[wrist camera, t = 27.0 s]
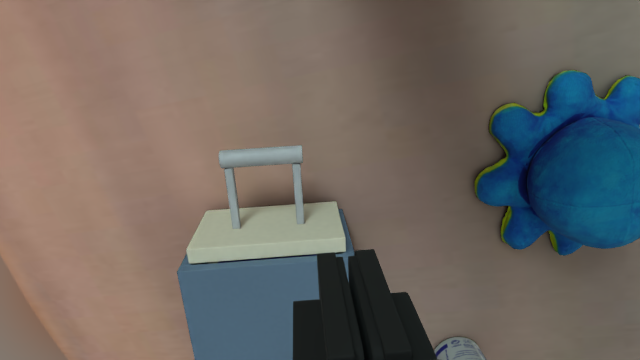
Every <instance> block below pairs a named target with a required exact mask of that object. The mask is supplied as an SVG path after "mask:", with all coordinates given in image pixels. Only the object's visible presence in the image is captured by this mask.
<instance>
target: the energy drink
mask: <svg viewBox="0 0 640 360" xmlns="http://www.w3.org/2000/svg"><path fill="white" fill-rule="evenodd" d="M434 352H435V355H436V357H437V359H439V360H486V358H485V356H484V355H483V353H482V352H481V350H480V348H479V347H478V345H477V344H476V343H475V342H474V341H472V340H471V339H468V338H464V337H453V338H449V339H447V340H445V341H443V342H441V343H440V344H439V345H438V346H437V347H436V349H435V350H434Z"/></svg>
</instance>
